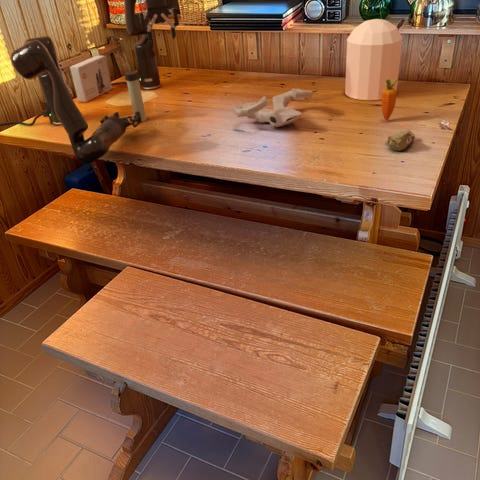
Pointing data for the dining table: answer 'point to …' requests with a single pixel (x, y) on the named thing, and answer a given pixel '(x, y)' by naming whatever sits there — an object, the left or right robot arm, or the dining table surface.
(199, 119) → the dining table surface
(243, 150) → the dining table surface
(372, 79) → the container
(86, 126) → the left robot arm
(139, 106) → the jar
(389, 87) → the carrot
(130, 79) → the lid
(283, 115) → the beige irregular branched piece
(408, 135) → the rock
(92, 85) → the skincare box
